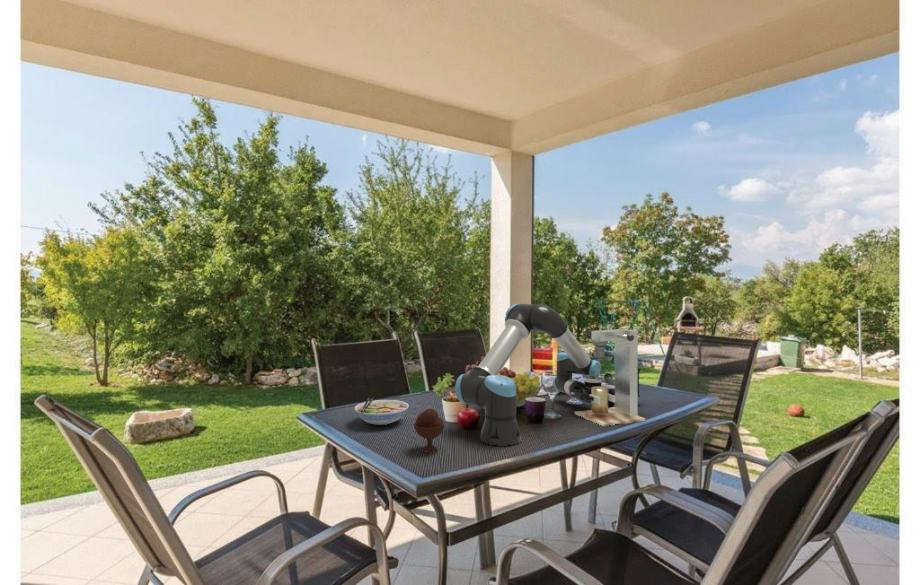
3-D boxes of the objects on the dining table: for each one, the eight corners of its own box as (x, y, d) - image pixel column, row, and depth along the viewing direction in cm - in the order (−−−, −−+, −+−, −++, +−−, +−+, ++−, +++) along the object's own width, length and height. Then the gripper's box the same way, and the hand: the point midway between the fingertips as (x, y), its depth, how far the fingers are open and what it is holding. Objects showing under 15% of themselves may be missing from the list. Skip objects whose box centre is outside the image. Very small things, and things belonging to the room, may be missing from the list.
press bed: (602, 426, 191) (602, 423, 191) (574, 414, 209) (574, 411, 209) (645, 420, 198) (645, 418, 198) (615, 409, 217) (615, 406, 217)
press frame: (611, 424, 190) (611, 334, 190) (587, 413, 206) (587, 330, 205) (648, 419, 197) (648, 332, 196) (622, 409, 212) (622, 328, 212)
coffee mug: (600, 398, 237) (600, 379, 237) (603, 403, 229) (603, 382, 228) (576, 398, 238) (576, 378, 238) (579, 402, 230) (579, 382, 230)
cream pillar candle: (597, 414, 198) (597, 390, 197) (588, 409, 204) (588, 387, 204) (611, 412, 200) (611, 389, 200) (601, 408, 207) (601, 385, 206)
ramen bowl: (405, 432, 184) (405, 412, 184) (348, 433, 184) (347, 412, 184) (411, 415, 209) (411, 396, 209) (361, 415, 209) (360, 397, 209)
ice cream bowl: (451, 449, 165) (451, 407, 165) (429, 458, 157) (428, 413, 157) (430, 442, 172) (430, 402, 172) (407, 450, 164) (407, 408, 164)
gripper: (593, 394, 222) (626, 406, 201) (557, 398, 215) (587, 411, 194) (593, 379, 222) (626, 389, 201) (557, 382, 215) (587, 393, 194)
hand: (606, 400), depth 197 cm, fingers closed on cream pillar candle, 7 cm apart
